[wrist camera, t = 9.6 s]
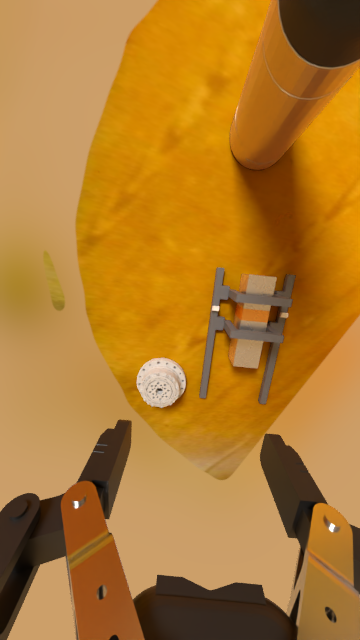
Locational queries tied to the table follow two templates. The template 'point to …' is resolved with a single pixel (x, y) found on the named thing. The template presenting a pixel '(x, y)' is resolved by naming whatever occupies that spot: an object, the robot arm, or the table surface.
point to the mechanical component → (161, 382)
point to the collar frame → (271, 334)
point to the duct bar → (251, 320)
